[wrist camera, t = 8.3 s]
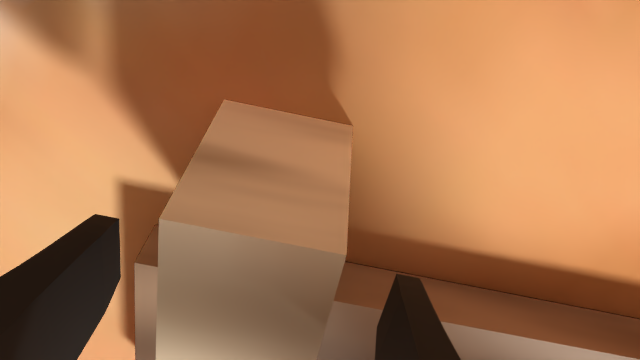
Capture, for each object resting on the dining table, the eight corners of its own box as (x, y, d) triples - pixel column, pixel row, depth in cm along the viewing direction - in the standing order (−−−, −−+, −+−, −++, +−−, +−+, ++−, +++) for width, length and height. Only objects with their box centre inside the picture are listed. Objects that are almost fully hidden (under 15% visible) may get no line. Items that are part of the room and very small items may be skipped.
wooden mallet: (288, 382, 23) (266, 532, 18) (198, 365, 23) (151, 512, 18) (352, 125, 16) (346, 255, 11) (224, 98, 16) (158, 218, 11)
